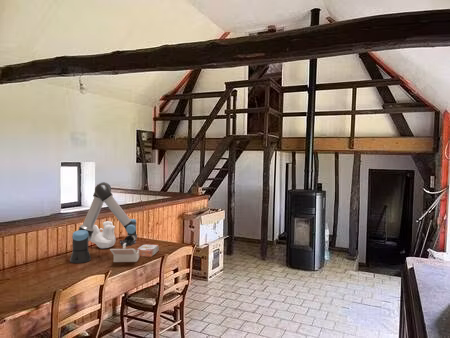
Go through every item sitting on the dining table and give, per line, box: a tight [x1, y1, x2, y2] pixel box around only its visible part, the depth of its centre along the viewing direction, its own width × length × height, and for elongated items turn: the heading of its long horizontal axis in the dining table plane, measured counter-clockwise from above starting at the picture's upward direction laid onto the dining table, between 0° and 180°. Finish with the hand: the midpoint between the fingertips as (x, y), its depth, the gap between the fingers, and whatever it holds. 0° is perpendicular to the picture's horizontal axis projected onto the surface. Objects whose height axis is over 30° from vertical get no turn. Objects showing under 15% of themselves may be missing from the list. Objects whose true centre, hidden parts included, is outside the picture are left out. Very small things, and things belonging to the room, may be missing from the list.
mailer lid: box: [109, 248, 137, 256], centre depth 269 cm, size 14×18×1 cm
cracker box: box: [135, 243, 160, 258], centre depth 301 cm, size 14×6×21 cm
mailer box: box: [113, 249, 140, 263], centre depth 282 cm, size 14×18×6 cm
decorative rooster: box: [89, 220, 117, 249], centre depth 323 cm, size 25×16×25 cm, turn 81°
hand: (123, 246), depth 267 cm, fingers closed
